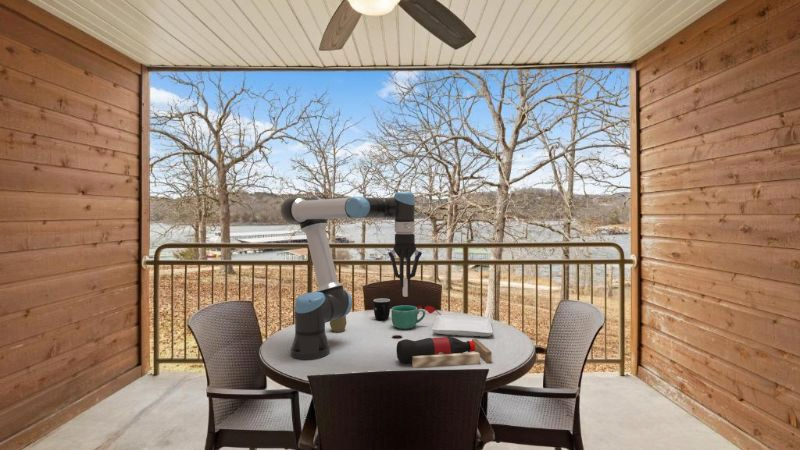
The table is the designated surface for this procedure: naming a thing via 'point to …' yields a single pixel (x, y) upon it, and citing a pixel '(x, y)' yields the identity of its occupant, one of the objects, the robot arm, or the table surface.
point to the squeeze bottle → (338, 324)
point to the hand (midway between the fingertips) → (405, 295)
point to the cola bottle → (431, 347)
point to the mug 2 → (405, 316)
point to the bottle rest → (454, 357)
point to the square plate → (463, 325)
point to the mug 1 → (381, 309)
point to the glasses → (428, 309)
